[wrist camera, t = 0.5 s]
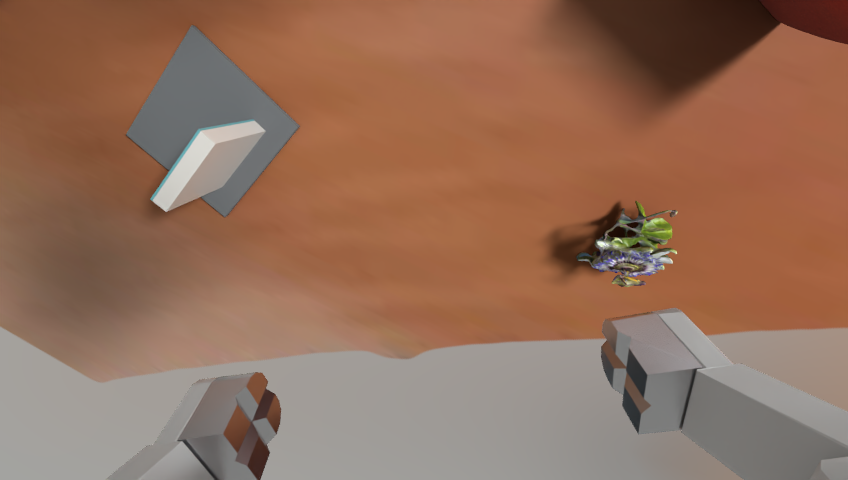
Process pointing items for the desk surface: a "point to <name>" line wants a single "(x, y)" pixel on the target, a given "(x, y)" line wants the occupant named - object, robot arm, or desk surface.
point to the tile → (207, 162)
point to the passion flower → (633, 249)
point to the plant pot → (813, 16)
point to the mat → (209, 114)
